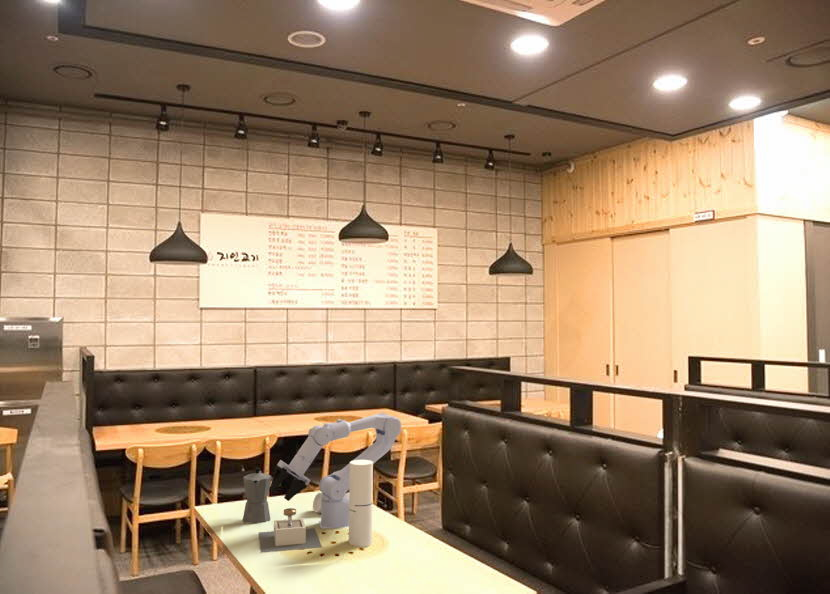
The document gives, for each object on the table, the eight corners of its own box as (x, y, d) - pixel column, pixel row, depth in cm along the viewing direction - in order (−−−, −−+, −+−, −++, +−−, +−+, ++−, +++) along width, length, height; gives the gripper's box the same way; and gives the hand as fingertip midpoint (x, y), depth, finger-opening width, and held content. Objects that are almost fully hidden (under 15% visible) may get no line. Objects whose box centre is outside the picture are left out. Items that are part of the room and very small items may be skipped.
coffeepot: (268, 526, 215) (269, 472, 215) (239, 527, 214) (240, 472, 214) (272, 512, 230) (273, 461, 231) (245, 513, 229) (246, 462, 229)
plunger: (299, 522, 205) (299, 506, 205) (301, 529, 199) (301, 512, 199) (278, 524, 203) (278, 507, 204) (279, 530, 197) (280, 513, 197)
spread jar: (353, 510, 234) (354, 477, 235) (333, 518, 225) (334, 484, 225) (328, 504, 241) (328, 473, 241) (307, 512, 231) (308, 479, 231)
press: (302, 533, 207) (302, 518, 207) (305, 543, 198) (305, 527, 198) (273, 535, 204) (274, 520, 204) (275, 545, 196) (275, 529, 196)
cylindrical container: (368, 548, 196) (369, 465, 197) (345, 546, 197) (346, 464, 198) (374, 540, 203) (375, 460, 204) (352, 538, 204) (353, 459, 205)
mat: (314, 529, 212) (314, 528, 212) (322, 549, 195) (322, 547, 195) (258, 534, 207) (258, 532, 207) (260, 554, 190) (260, 552, 190)
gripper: (309, 463, 220) (286, 498, 216) (283, 444, 211) (258, 481, 206) (322, 471, 215) (298, 507, 211) (295, 452, 206) (269, 489, 201)
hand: (278, 495), depth 208 cm, fingers open, 7 cm apart
